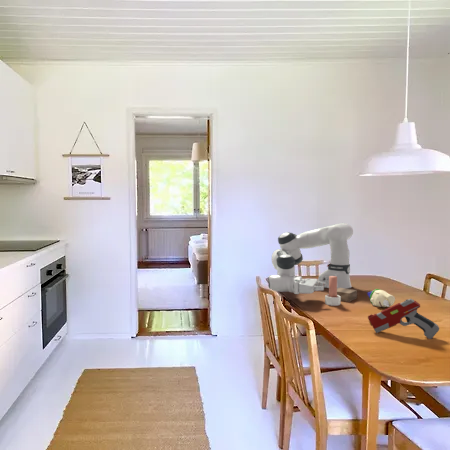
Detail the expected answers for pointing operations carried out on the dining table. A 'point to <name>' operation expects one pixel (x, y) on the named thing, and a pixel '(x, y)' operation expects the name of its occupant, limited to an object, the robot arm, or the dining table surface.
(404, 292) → the dining table surface
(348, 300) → the stand
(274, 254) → the robot arm
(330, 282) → the dowel
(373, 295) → the cartoon head
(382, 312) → the toy gun
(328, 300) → the white nut
